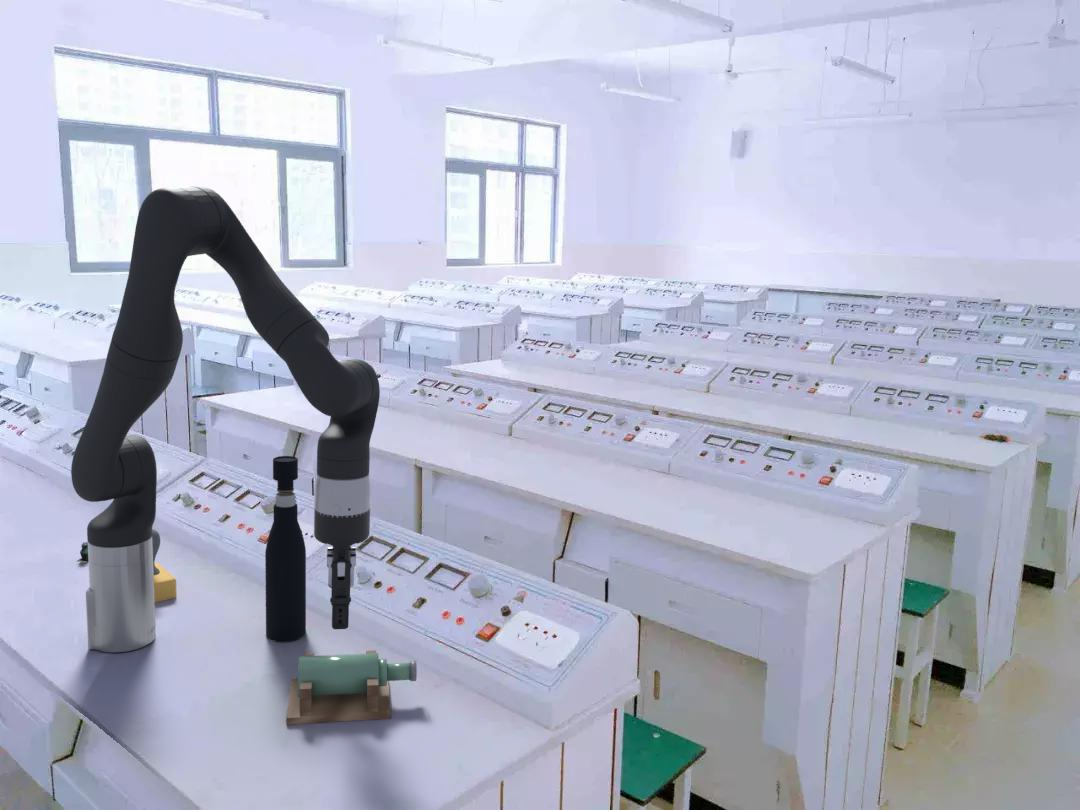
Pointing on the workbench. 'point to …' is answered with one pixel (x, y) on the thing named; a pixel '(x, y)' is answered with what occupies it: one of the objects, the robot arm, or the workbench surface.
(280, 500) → the wine bottle
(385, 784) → the workbench surface
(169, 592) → the rubber stamp
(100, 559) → the robot arm
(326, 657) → the green bottle
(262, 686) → the workbench surface
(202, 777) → the workbench surface
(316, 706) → the u rest
